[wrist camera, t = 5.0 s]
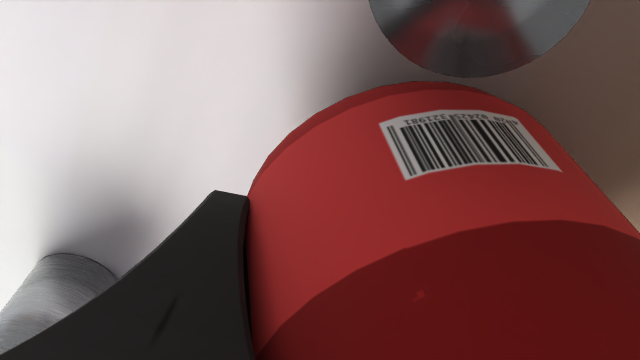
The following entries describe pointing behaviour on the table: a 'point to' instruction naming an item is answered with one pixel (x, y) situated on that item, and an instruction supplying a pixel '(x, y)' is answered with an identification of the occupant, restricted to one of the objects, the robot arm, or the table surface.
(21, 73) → the table surface
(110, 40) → the table surface
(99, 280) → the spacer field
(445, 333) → the canned food
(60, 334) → the robot arm
